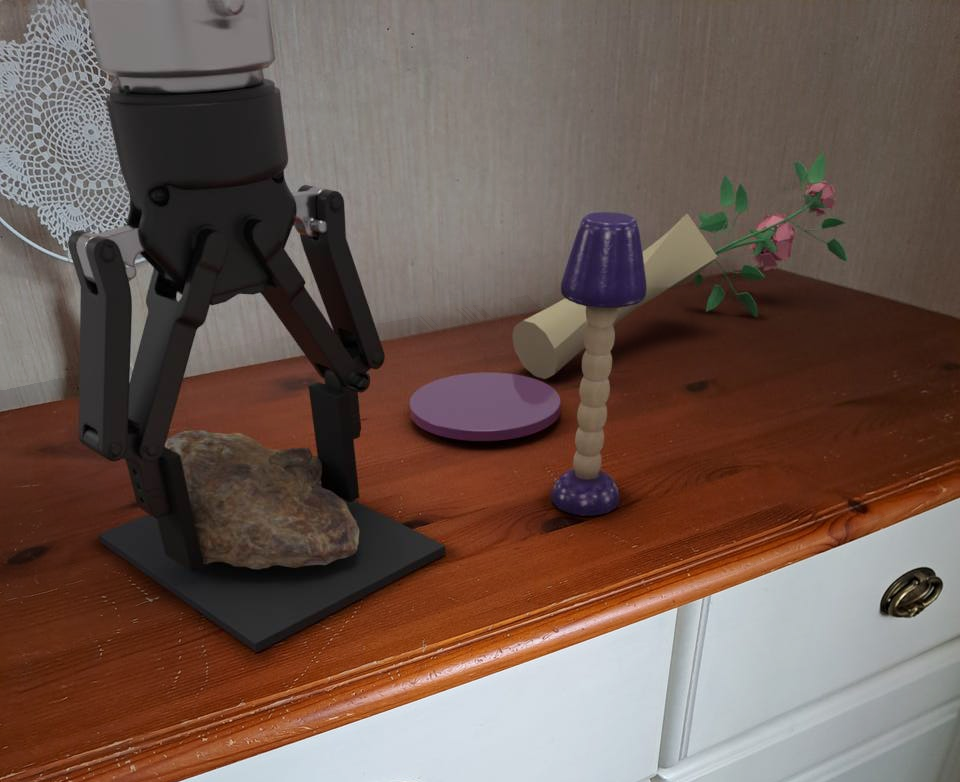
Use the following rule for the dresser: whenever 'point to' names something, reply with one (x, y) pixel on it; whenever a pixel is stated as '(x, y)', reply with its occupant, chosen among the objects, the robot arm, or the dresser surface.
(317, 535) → the brown rock
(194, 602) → the place mat
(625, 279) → the toy lamp
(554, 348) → the flower vase
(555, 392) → the saucer
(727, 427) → the dresser surface
